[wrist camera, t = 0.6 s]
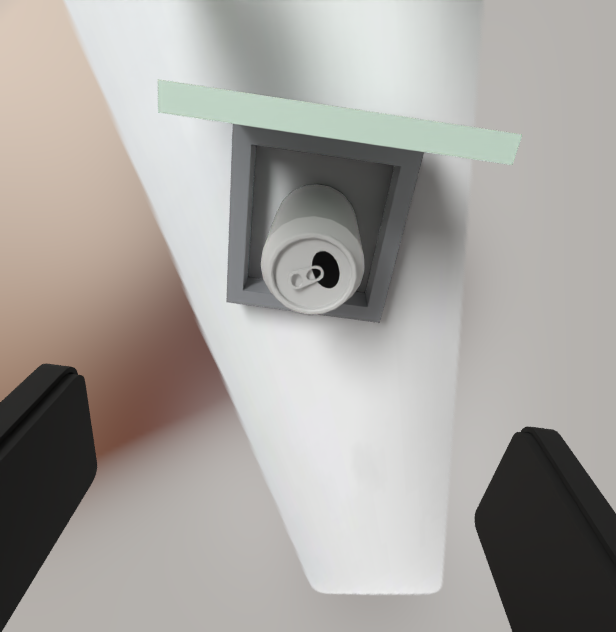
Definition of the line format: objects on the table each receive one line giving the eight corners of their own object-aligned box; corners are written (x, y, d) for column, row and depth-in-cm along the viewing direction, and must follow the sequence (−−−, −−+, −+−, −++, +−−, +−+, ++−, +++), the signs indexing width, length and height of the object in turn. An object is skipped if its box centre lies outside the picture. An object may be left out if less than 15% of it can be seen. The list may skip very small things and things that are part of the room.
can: (363, 249, 40) (376, 311, 29) (289, 268, 41) (276, 333, 31) (345, 171, 36) (352, 210, 26) (265, 194, 37) (241, 240, 27)
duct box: (239, 117, 34) (232, 120, 32) (417, 143, 35) (424, 149, 32) (232, 288, 42) (226, 302, 40) (376, 307, 43) (379, 322, 40)
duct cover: (233, 116, 31) (234, 98, 31) (425, 145, 32) (429, 128, 31) (158, 112, 17) (157, 79, 16) (512, 165, 17) (522, 134, 17)
